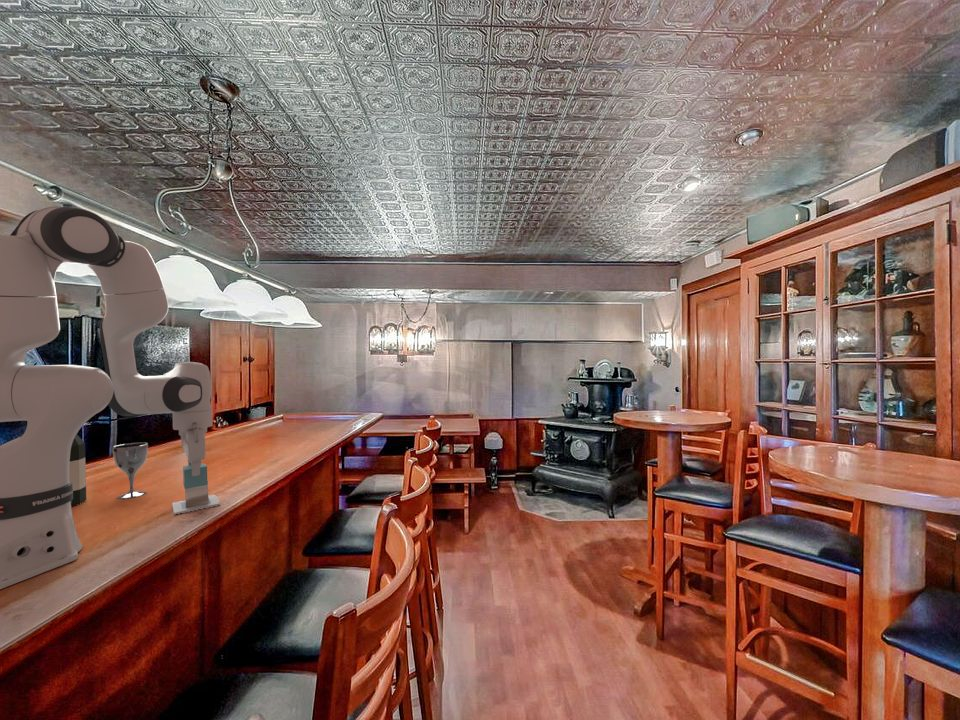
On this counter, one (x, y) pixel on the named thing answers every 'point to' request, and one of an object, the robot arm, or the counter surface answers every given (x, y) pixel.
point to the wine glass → (130, 463)
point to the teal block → (194, 477)
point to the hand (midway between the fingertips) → (194, 472)
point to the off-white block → (196, 495)
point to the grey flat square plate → (181, 506)
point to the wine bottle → (78, 470)
